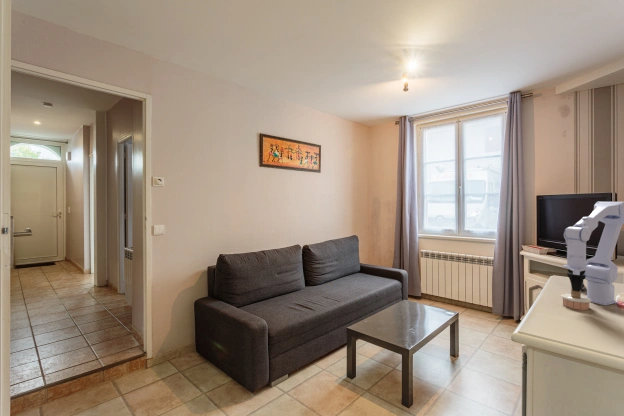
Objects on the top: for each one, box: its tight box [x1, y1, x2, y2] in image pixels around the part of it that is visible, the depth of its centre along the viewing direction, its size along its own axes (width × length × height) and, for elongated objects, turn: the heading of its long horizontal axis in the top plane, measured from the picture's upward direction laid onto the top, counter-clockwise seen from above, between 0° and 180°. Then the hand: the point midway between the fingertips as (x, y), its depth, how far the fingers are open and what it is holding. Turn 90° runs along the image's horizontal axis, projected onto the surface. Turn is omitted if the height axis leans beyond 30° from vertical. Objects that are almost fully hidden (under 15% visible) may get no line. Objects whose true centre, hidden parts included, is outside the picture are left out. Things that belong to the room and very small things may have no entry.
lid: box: [560, 287, 592, 304], centre depth 120 cm, size 9×9×4 cm
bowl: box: [562, 298, 590, 311], centre depth 120 cm, size 8×8×3 cm
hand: (576, 288), depth 120 cm, fingers open, 7 cm apart
